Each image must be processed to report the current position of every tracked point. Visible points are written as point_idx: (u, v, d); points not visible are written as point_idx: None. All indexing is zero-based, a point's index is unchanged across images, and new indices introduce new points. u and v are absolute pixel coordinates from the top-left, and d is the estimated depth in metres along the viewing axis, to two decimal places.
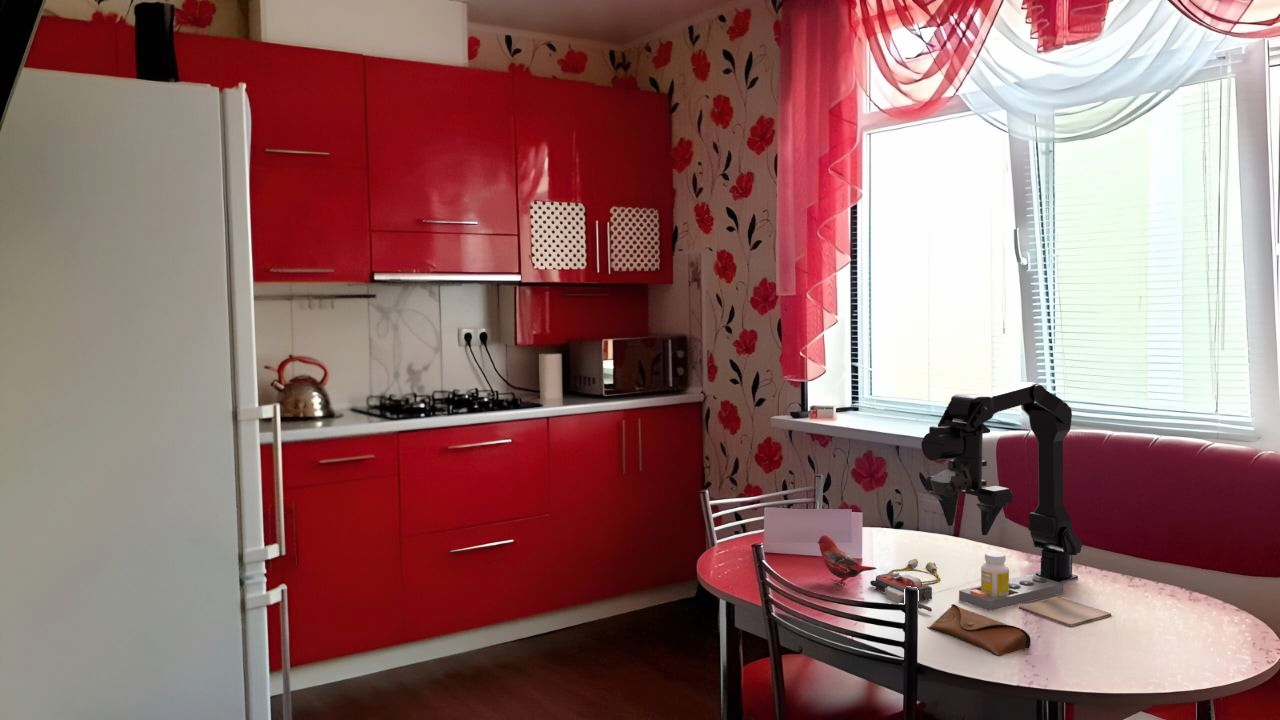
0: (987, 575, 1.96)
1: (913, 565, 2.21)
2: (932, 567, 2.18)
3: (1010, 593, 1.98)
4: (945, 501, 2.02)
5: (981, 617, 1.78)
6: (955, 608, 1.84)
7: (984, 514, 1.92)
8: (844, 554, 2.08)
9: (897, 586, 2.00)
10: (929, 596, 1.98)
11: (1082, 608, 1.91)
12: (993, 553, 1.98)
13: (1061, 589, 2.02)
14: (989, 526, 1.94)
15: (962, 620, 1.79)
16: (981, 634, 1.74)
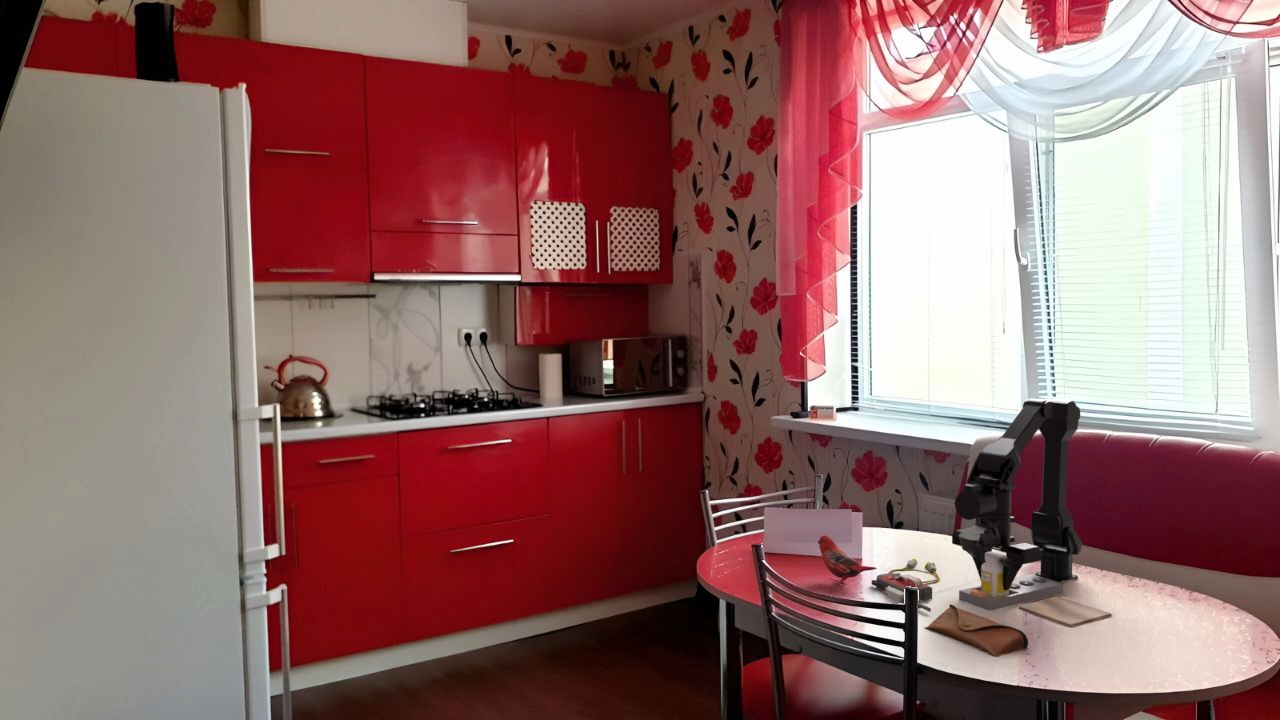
0: (987, 575, 1.96)
1: (912, 565, 2.21)
2: (931, 567, 2.18)
3: (1010, 593, 1.98)
4: (979, 558, 2.00)
5: (979, 618, 1.78)
6: (953, 608, 1.84)
7: (1006, 569, 1.93)
8: (844, 554, 2.08)
9: (897, 586, 2.01)
10: (929, 596, 1.99)
11: (1082, 608, 1.91)
12: (993, 553, 1.98)
13: (1061, 589, 2.02)
14: (1011, 581, 1.95)
15: (960, 620, 1.78)
16: (979, 635, 1.73)
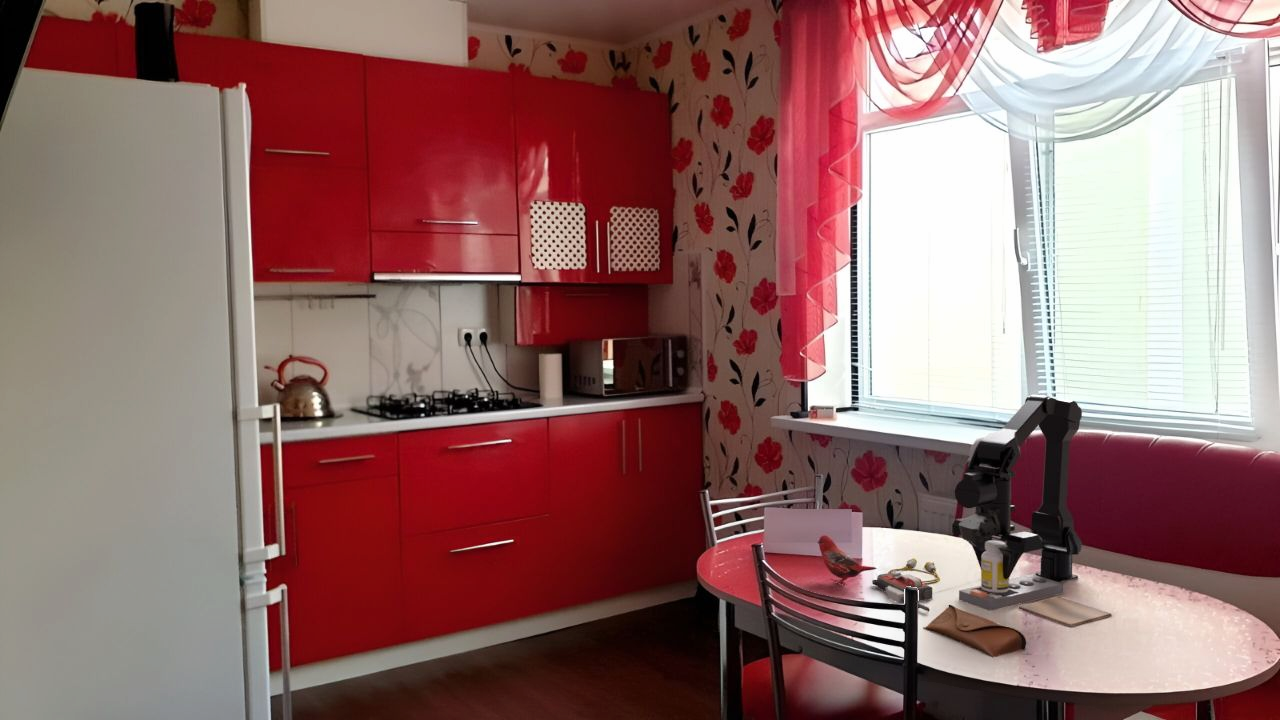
0: (987, 564, 1.96)
1: (912, 565, 2.21)
2: (931, 567, 2.18)
3: (1010, 593, 1.98)
4: (979, 547, 1.99)
5: (977, 618, 1.78)
6: (952, 609, 1.84)
7: (1006, 558, 1.93)
8: (844, 554, 2.08)
9: (898, 586, 2.01)
10: (929, 596, 1.99)
11: (1082, 608, 1.91)
12: (993, 541, 1.98)
13: (1061, 589, 2.02)
14: (1011, 570, 1.94)
15: (958, 621, 1.78)
16: (976, 635, 1.73)
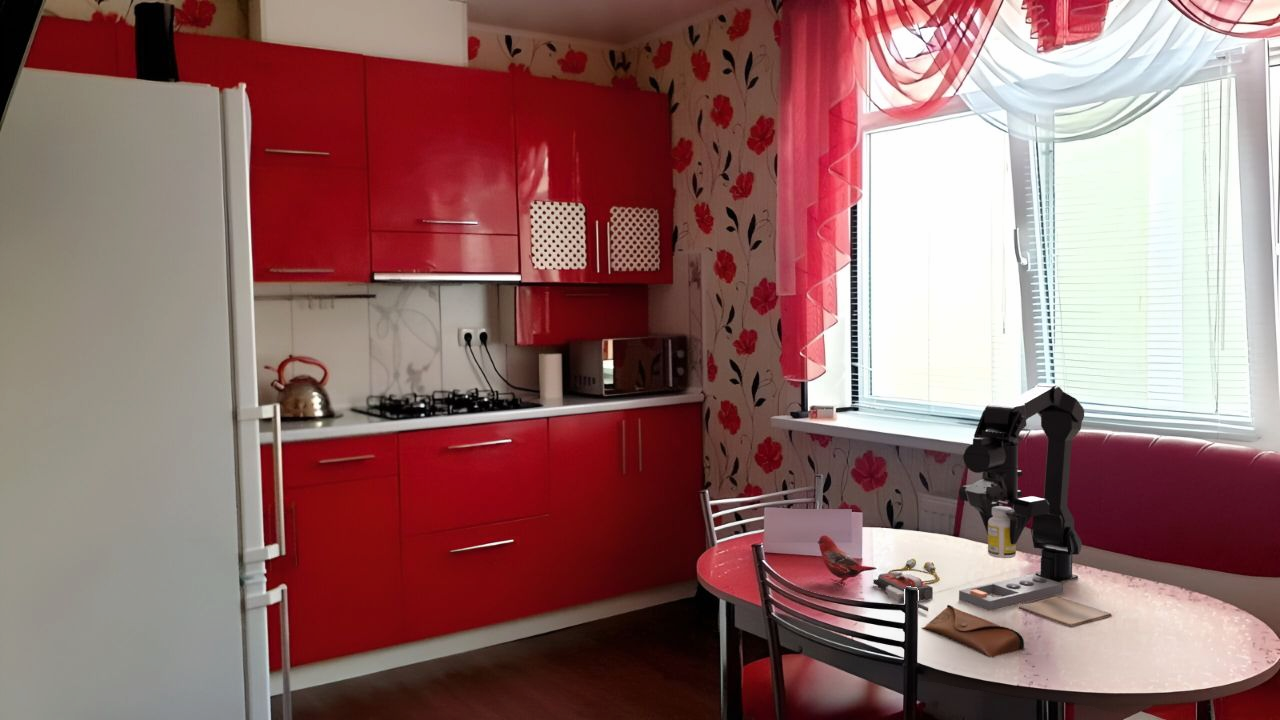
0: (994, 529, 1.94)
1: (911, 565, 2.21)
2: (930, 567, 2.19)
3: (1010, 593, 1.98)
4: (986, 513, 1.98)
5: (975, 618, 1.77)
6: (950, 609, 1.84)
7: (1013, 523, 1.92)
8: (844, 554, 2.08)
9: (898, 585, 2.01)
10: (929, 596, 1.99)
11: (1082, 608, 1.91)
12: (1000, 507, 1.97)
13: (1061, 589, 2.02)
14: (1018, 535, 1.93)
15: (956, 621, 1.78)
16: (974, 635, 1.73)
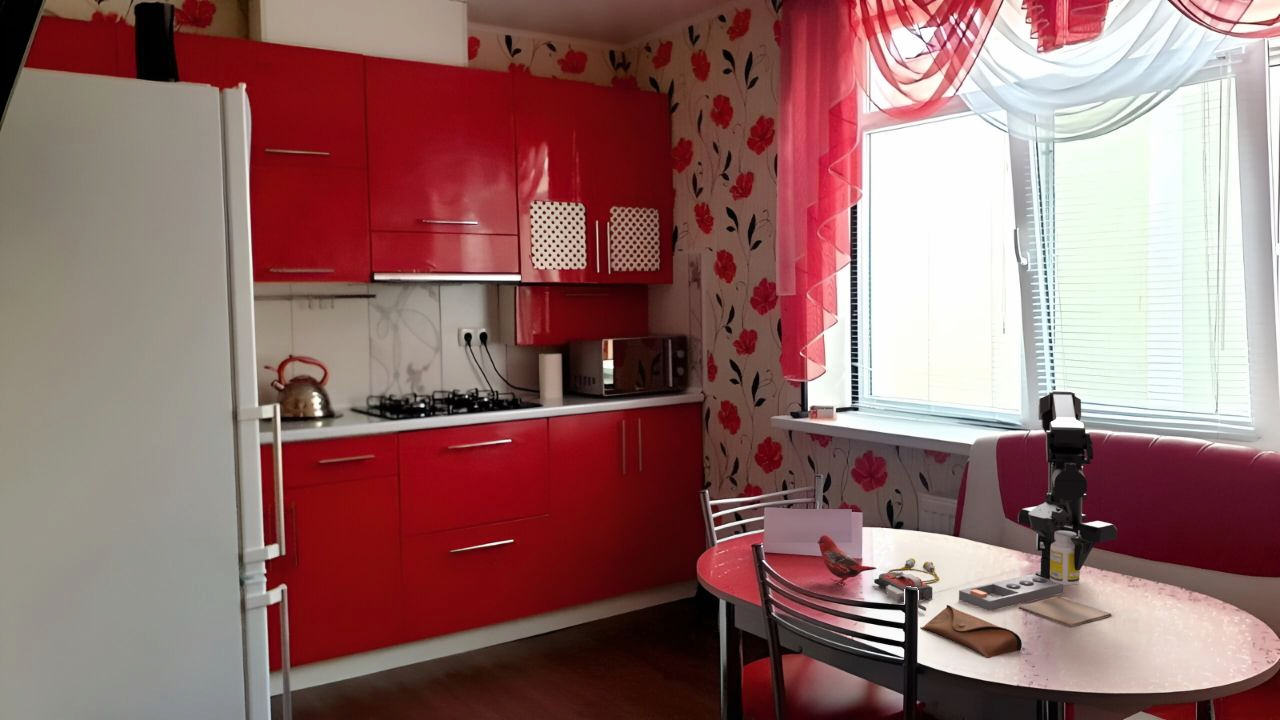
0: (1058, 555, 1.88)
1: (911, 565, 2.21)
2: (930, 566, 2.19)
3: (1010, 593, 1.98)
4: (1047, 537, 1.91)
5: (974, 619, 1.77)
6: (949, 609, 1.84)
7: (1078, 549, 1.85)
8: (844, 554, 2.08)
9: (897, 585, 2.01)
10: (929, 596, 1.99)
11: (1082, 608, 1.91)
12: (1063, 532, 1.90)
13: (1061, 589, 2.02)
14: (1083, 561, 1.87)
15: (954, 621, 1.78)
16: (972, 636, 1.73)
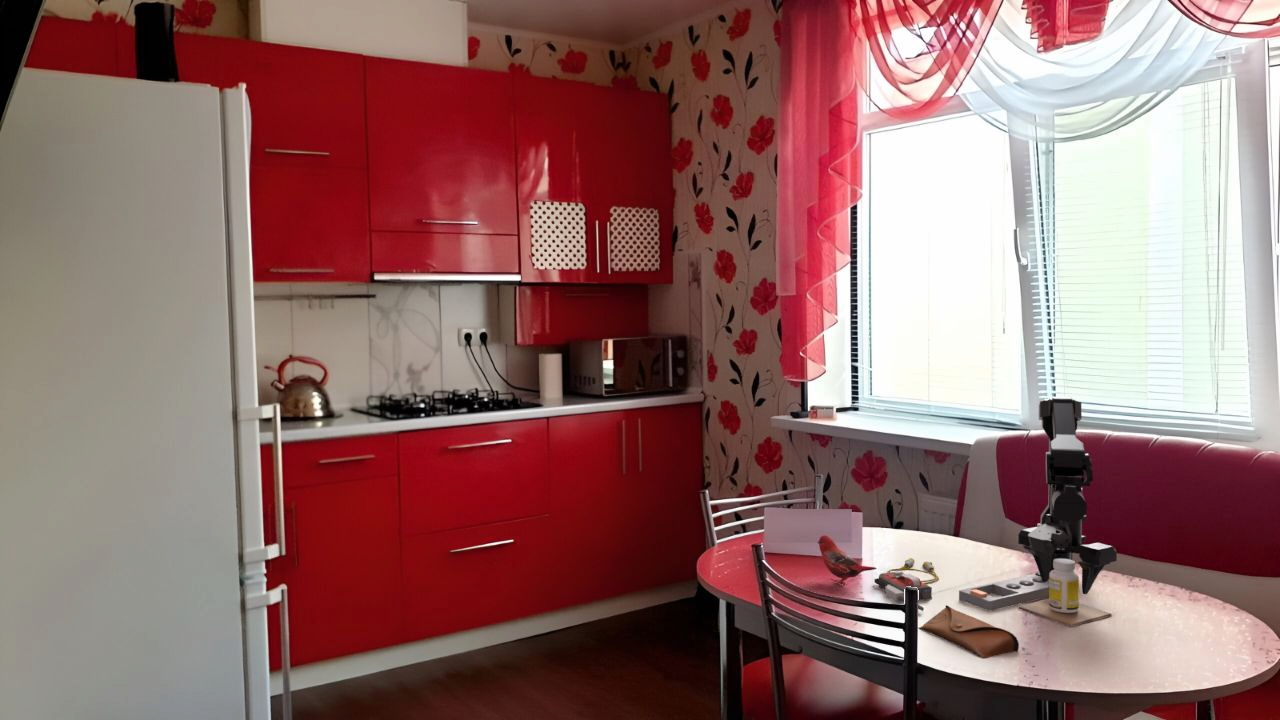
0: (1057, 583, 1.88)
1: (910, 564, 2.22)
2: (929, 566, 2.19)
3: (1010, 593, 1.98)
4: (1040, 556, 1.93)
5: (971, 619, 1.77)
6: (948, 609, 1.84)
7: (1086, 573, 1.84)
8: (844, 554, 2.08)
9: (897, 585, 2.01)
10: (928, 596, 1.98)
11: (1082, 608, 1.91)
12: (1062, 560, 1.91)
13: None
14: (1090, 585, 1.85)
15: (952, 621, 1.78)
16: (969, 636, 1.73)
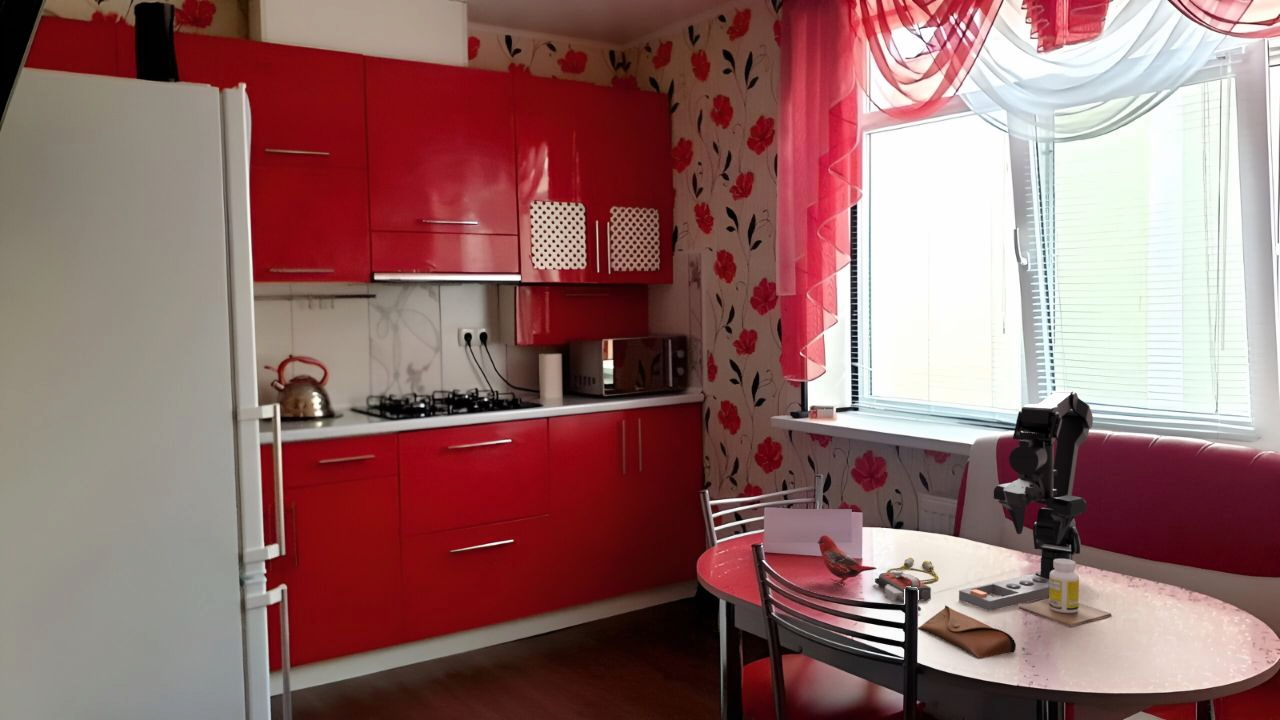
0: (1057, 583, 1.88)
1: (909, 564, 2.22)
2: (929, 566, 2.19)
3: (1010, 593, 1.98)
4: (1014, 510, 2.04)
5: (969, 619, 1.77)
6: (947, 610, 1.84)
7: (1058, 523, 1.94)
8: (844, 554, 2.08)
9: (896, 584, 2.02)
10: (926, 596, 1.98)
11: (1082, 608, 1.91)
12: (1062, 560, 1.91)
13: None
14: (1062, 535, 1.96)
15: (950, 621, 1.78)
16: (965, 636, 1.73)
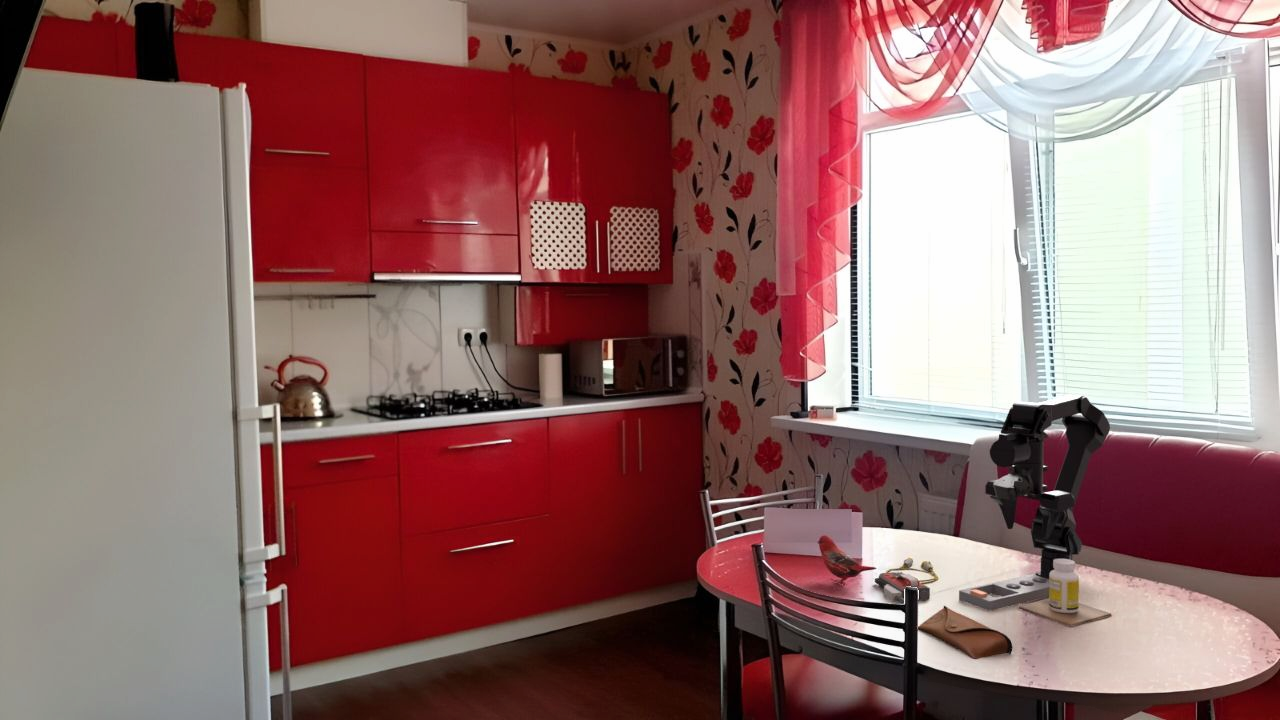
0: (1056, 583, 1.88)
1: (909, 564, 2.22)
2: (928, 566, 2.19)
3: (1010, 593, 1.98)
4: (1005, 505, 2.08)
5: (967, 620, 1.77)
6: (946, 610, 1.83)
7: (1046, 518, 1.98)
8: (844, 554, 2.08)
9: (895, 585, 2.02)
10: (925, 596, 1.98)
11: (1082, 608, 1.91)
12: (1062, 560, 1.90)
13: None
14: (1050, 529, 2.00)
15: (947, 622, 1.78)
16: (962, 637, 1.73)
